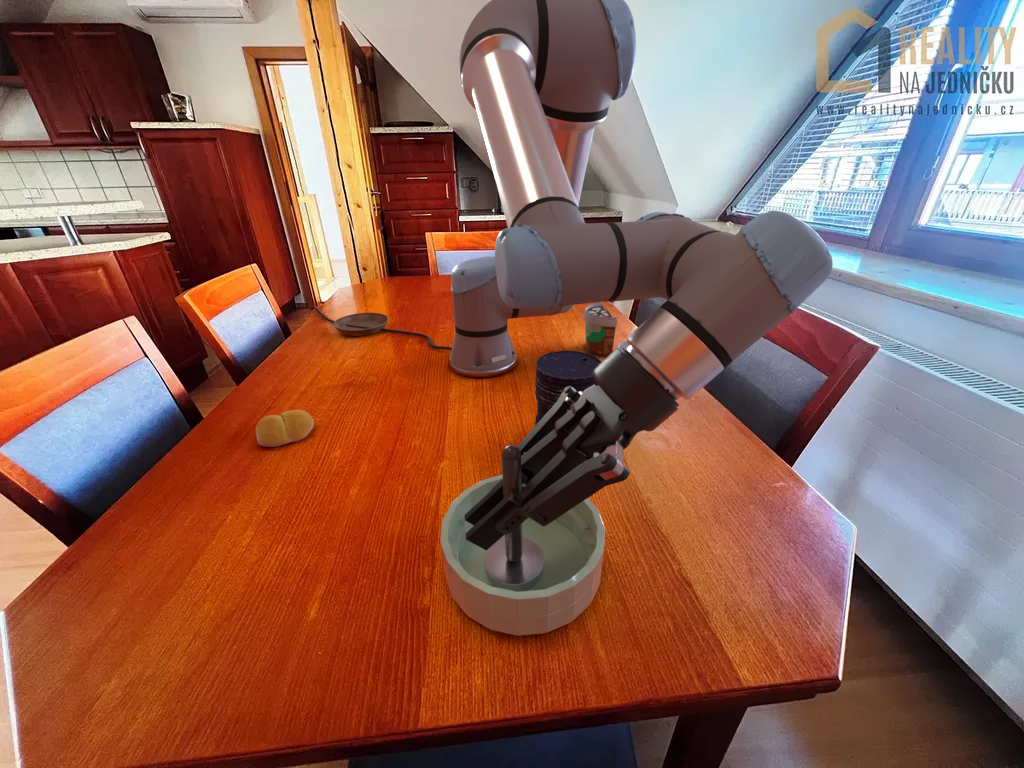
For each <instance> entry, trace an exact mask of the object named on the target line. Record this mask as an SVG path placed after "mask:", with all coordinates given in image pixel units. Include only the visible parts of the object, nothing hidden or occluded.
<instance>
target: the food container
mask: <svg viewBox="0 0 1024 768" xmlns="http://www.w3.org/2000/svg"><path fill="white" fill-rule="evenodd" d="M582 319H583V320H584V322H585V350H586V352H588V354H590V355H593V356H598V357H605V358H607V357H608V356H609V355H610V354H611V353H612V352H613V351H614V343H615V342H614V340H615V334H616V328H617V327H618V320H617V319H618V317H617V316H612V314H611V313H610V311H608V310H607V309H605V307H604V302H595V303H591V304H589V305H587V306H586V307H585V309H584V310H583V314H582Z"/></svg>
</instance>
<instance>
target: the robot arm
mask: <svg viewBox="0 0 1024 768" xmlns="http://www.w3.org/2000/svg"><path fill="white" fill-rule="evenodd" d="M636 55H637V34H636V29H635V21H634V17H633V13H632V10H631V8H630V6H629V5H628V4H627V2H626V1H625V0H490V1H488V2H487V3H486V4H484V6H483V7H482V8H481V9H480V10H479V11H478V12H477V13H476V15H475V16H474V17H473V19H472V20H471V22H470V24H469V26H468V28H467V29H466V31H465V34H464V36H463V39H462V43H461V45H460V52H459V58H458V65H459V66H458V68H459V69H458V70H459V75H460V81H461V86H462V90H463V93H464V95H465V98H466V100H467V101H468V103H469V105H471V107H472V108H473V109H474V110H475V111H476V113H477V117H478V119H479V124H480V128H481V133H482V135H483V139H484V142H485V143H484V144H485V146H486V149H487V154H488V159H489V161H490V166H491V170H492V173H493V177H494V180H495V185H496V188H497V191H498V195H499V200H500V203H501V207H502V210H503V214H504V219H505V222H506V226H507V227H506V228H504V229H502V230H501V231H500V232H499V233H498V234H497V237H496V239H495V245H494V256H482V257H476V258H472V259H468V260H465V261H463V262H460V263H458V264H457V265H455V266H454V267H453V269H452V271H451V273H450V281H451V282H450V284H451V287H450V293H451V294H452V307H453V320H454V331H455V332H454V339H453V342H452V346H447V345H446V346H444V345H436V344H434V343H433V340H432V338H431V337H430V336H429V335H427V334H425V333H420V332H415V331H407V330H402V329H401V330H400V329H393V328H392V329H391V328H382V329H381V330H380V331H379V332H386V333H387V332H389V333H397V334H405V335H413V336H417V337H423V338H425V339H426V340H427V341H428V343H429V345H430V346H431V347H432V348H433V349H437V350H448V351H451V352H450V355H449V367H450V369H451V370H452V371H453V373H456V374H458V375H460V376H463V377H468V378H475V379H476V378H479V379H481V378H483V379H484V378H491V377H498V376H500V375H504V374H507V373H508V372H510V371H512V370H514V368H515V367H516V365H517V354H516V353H517V352H516V350H515V348H514V345H513V342H512V340H511V337H510V334H509V330H508V320H511V319H520V318H521V319H522V318H535V317H546V316H548V317H552V316H555V315H560V314H565V313H568V312H569V311H570V310H572V308H573V307H574V306H576V305H586V304H596V303H607V302H623V301H635V300H644V299H645V300H646V299H655V298H656V299H657V298H661V299H664V300H666V301H664V302H663V304H661V305H660V306H659V307H658V308H657V309H656V310H655V311H654V312H653V313H652V314H651V315H650V316H649V317H648V318H646V319H645V320H644V321H643V322H642V323H641V324H640V325H639V326H637V328H635V330H633V332H631V333H630V334H629V335H628V336H627V337H626V341H627V342H628V343H629V345H628V346H627V347H626V348H625V350H624V349H623V348H622V347H620V348H619V349H618V348H617V347H616V348H615V349H613V350H612V353H611V354H610V355H609V356H608V357H605V359H603V360H601V363H600V364H599V365H598V366H597V367H596V368H595V369H594V371H593V377H594V379H595V381H596V382H597V383H596V384H594V385H593V386H591V387H589V388H587V389H585V390H584V391H583V392H578V391H576V390H575V389H574V388H573V387H572V386H567V387H566V388H565V389H564V391H563V392H562V394H561V396H560V397H559V399H558V400H557V402H556V403H555V405H554V406H553V407H552V408H551V409H550V410H549V411H548V412H547V413H546V414H545V416H544V417H543V418H542V419H541V420H540V421H539V422H538V423H537V424H536V426H535V425H534V427H532V429H531V430H530V431H529V432H528V433H527V434H526V435H525V436H524V437H523V439H522V440H521V441H520V442H519V443H518V444H517V445H516V446H517V447H518V448H519V449H520V452H521V489H522V490H521V491H520V492H519V493H518V494H516V493H514V492H513V491H511V492H510V494H509V495H507V496H506V497H505V498H504V499H503V478H502V479H501V480H500V482H498V483H497V484H496V485H495V486H494V487H493V488H492V489H491V491H490V492H489V493H488V494H487V495H486V496H485V497H484V498H482V499H481V500H480V501H479V502H478V503H477V504H476V505H475V506H474V507H473V508H472V509H471V510H469V511H468V512H467V513H466V514H465V521H467V522H469V523H470V524H472V525H474V526H473V527H472V528H471V529H470V530H469V531H468V532H467V533H466V540H468V541H470V542H471V543H473V544H475V545H477V546H479V547H481V548H482V549H484V550H486V551H487V550H488V549H489V548H490V547H491V546H492V545H493V544H495V543H496V542H497V541H498V540H499V539H500V538H501V537H503V536H504V535H508V534H510V533H511V532H513V531H514V530H515V529H516V528H517V527H518V526H519V525H521V524H522V523H523V522H524V521H525V520H526V519H528V518H530V519H532V520H533V521H535V522H536V523H538V524H540V525H541V526H546V525H548V524H549V523H551V522H552V521H554V520H555V519H557V518H558V517H560V516H561V515H563V514H564V513H566V512H567V511H569V510H570V509H572V508H573V507H575V506H576V505H578V504H580V503H581V502H583V501H584V500H586V499H587V498H589V499H590V497H591V496H593V495H594V494H596V493H598V492H599V491H601V490H602V489H604V488H605V487H607V486H610V485H614V484H618V483H621V482H624V481H626V480H627V479H628V478H629V476H630V469H629V468H627V466H625V465H624V464H623V460H624V451H625V450H626V449H627V448H628V447H629V446H630V445H631V443H632V441H633V439H634V438H635V436H636V435H637V434H638V433H640V432H644V431H645V432H649V433H650V432H653V431H655V430H656V429H657V428H658V427H660V425H662V424H663V423H664V422H665V421H666V420H668V419H669V418H670V417H671V416H672V415H673V414H675V413H676V412H677V411H678V410H679V408H678V407H680V404H679V403H678V402H677V401H678V400H679V399H680V398H681V397H682V399H684V400H690V399H692V397H694V396H695V395H696V394H697V393H698V392H700V391H701V390H702V389H704V388H705V386H706V385H708V384H709V383H710V382H711V381H712V380H713V379H715V378H716V377H718V375H719V374H721V372H723V371H724V370H725V369H727V368H728V367H729V366H730V365H731V364H732V363H733V362H734V361H735V360H736V359H737V358H738V357H740V356H741V355H742V354H743V353H744V352H745V351H747V350H748V349H749V348H751V346H753V345H754V344H755V343H757V342H758V341H759V340H761V338H763V337H764V336H765V335H766V334H768V333H769V332H770V331H772V330H773V329H774V328H775V327H777V326H778V325H779V324H781V322H783V321H784V320H785V319H786V318H788V317H789V316H790V315H793V314H794V313H796V312H797V310H798V308H799V307H800V306H801V305H802V304H803V303H805V301H806V300H807V299H808V298H810V296H812V294H813V293H815V291H816V290H817V289H818V288H820V287H821V286H822V284H824V283H825V282H826V281H827V280H828V279H829V277H830V275H831V273H832V270H833V266H834V265H833V256H832V254H831V253H830V250H829V249H828V245H827V244H826V242H825V241H824V239H823V238H822V237H821V235H820V234H818V233H817V232H816V231H815V230H814V229H813V228H812V227H811V226H810V225H809V224H807V223H806V222H805V221H803V220H802V219H799V218H798V217H797V216H795V215H792V214H790V213H787V212H784V211H781V210H769V211H766V212H763V213H760V214H757V216H755V217H754V218H753V219H751V220H750V221H749V222H747V223H746V224H744V225H742V226H741V227H740V229H739V231H738V232H737V233H736V234H734V233H731V232H728V231H722V230H719V229H716V228H713V227H711V226H709V225H705V224H704V223H700V222H697V221H695V220H693V219H691V218H690V217H686V216H684V215H683V214H679V213H676V212H674V213H669V212H665V211H654V212H650V213H647V214H645V215H643V216H642V217H640V218H639V219H636V220H635V221H634V220H633V221H618V222H593V223H588V222H587V223H586V222H585V219H584V216H583V214H582V213H581V209H580V206H579V204H580V201H581V200H580V199H581V195H582V191H583V185H584V181H585V176H586V172H587V171H586V170H587V165H588V161H589V157H590V151H591V147H592V141H593V137H594V133H595V132H594V131H595V128H596V127H597V126H598V125H600V124H601V123H602V122H604V121H605V120H606V118H607V117H608V112H609V108H610V104H611V101H617V100H618V99H621V98H623V97H624V95H625V94H626V92H627V90H628V89H629V87H630V85H631V83H632V79H633V76H634V71H635V63H636ZM314 310H315V312H317V313H318V314H319V315H320V316H322V317H323V318H324V319H325V320H326V321H328V322H330V323H332V324H334V322H335V321H336V320H333V319H331V318H329V317H327V316H326V315H325V314H324V313H323V312H322V311H321V310H320V309H318V307H316V306H311V308H310V311H314ZM346 326H350V327H355V328H362V329H368V328H372V327H362V326H355V325H348V324H346ZM523 484H525V485H526V486H525V487H523V486H522V485H523Z"/></svg>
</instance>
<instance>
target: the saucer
mask: <svg viewBox="0 0 1024 768" xmlns="http://www.w3.org/2000/svg"><path fill="white" fill-rule="evenodd" d="M389 318H390V317H388V315H386V314H384V313H381V312H380V313H379V312H359V313H352V314H348V315H344V316H341V317H339V318H338V319H336V320H334V321H335V322H334V323H332V324H333V325H332V326H333V327H334V328H335V329H336V330H337V331H339V332H340V333H342V334H344V335H347V336H351V337H352V336H353V337H363V336H369V335H373V334H376V333H378V332H381V331H380V330H381V329H384V327H386V325H387V324H388V322H389ZM346 324H348V325H355V326H362V327H372V328H368V329H362V328H355V327H350V326H346Z"/></svg>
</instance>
